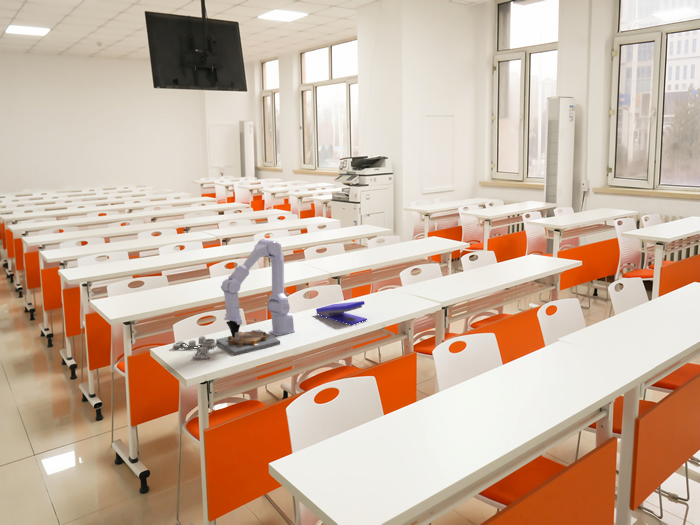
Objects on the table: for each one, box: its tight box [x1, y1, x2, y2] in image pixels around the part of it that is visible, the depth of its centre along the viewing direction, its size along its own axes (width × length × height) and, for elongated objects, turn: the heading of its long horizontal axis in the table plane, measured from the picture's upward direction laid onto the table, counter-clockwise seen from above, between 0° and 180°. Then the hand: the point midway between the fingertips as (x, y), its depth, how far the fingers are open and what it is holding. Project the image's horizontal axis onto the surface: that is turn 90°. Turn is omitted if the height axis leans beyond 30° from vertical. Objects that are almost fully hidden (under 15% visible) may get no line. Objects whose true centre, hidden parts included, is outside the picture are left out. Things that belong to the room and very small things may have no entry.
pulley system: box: [172, 336, 217, 361], centre depth 242 cm, size 27×5×15 cm
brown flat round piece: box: [227, 329, 267, 346], centre depth 247 cm, size 17×17×5 cm
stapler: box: [315, 300, 368, 326], centre depth 278 cm, size 12×28×10 cm, turn 40°
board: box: [215, 329, 281, 356], centre depth 247 cm, size 21×22×2 cm
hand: (235, 336), depth 244 cm, fingers closed
